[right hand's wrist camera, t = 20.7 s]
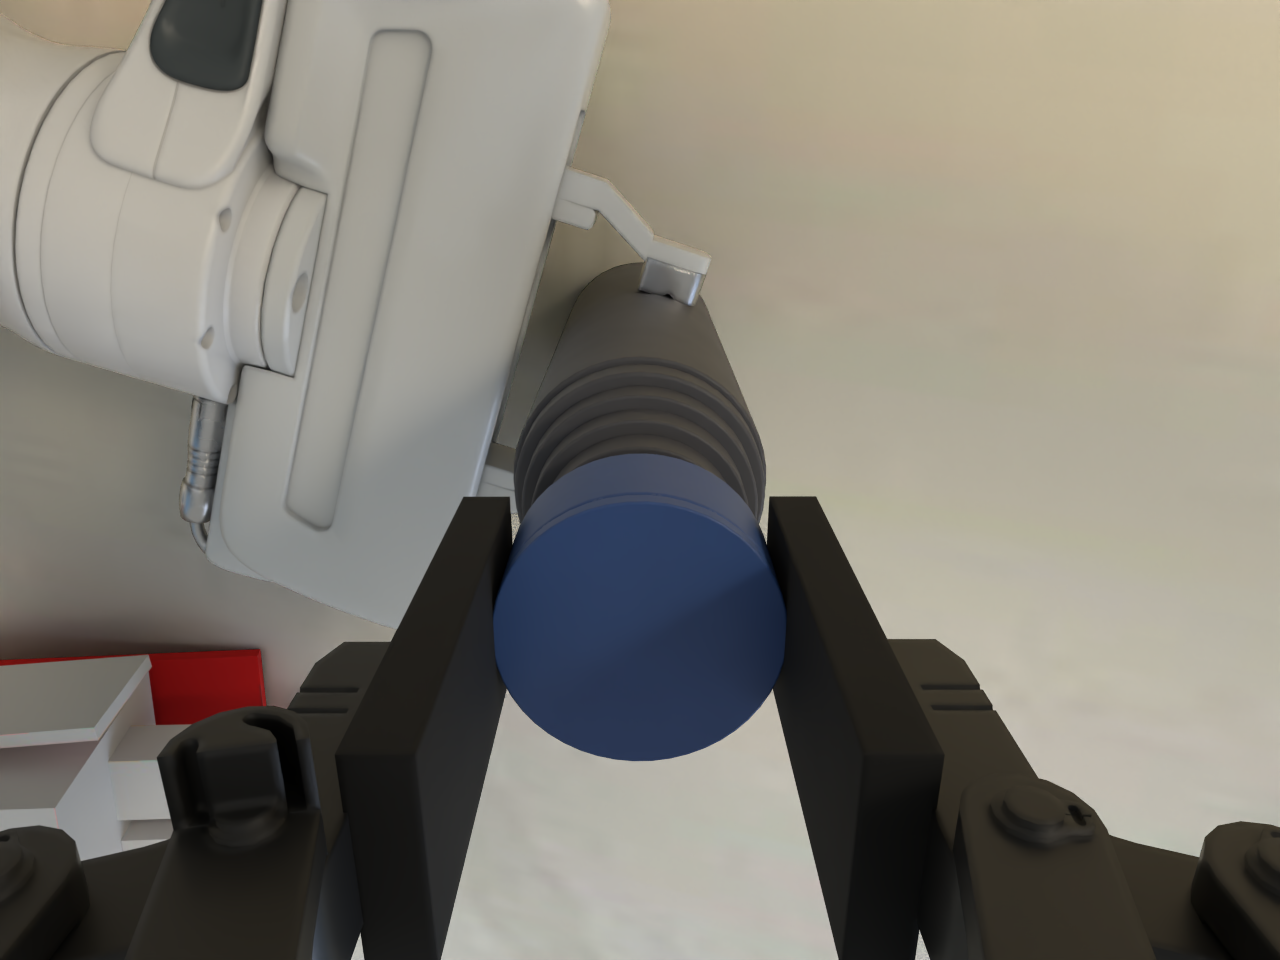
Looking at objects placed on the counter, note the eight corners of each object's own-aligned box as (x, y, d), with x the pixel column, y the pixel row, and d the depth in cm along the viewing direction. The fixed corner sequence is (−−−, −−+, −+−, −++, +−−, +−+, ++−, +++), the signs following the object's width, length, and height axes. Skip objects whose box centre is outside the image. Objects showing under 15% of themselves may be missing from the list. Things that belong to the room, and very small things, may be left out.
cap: (763, 441, 14) (784, 489, 12) (772, 674, 15) (792, 752, 14) (493, 462, 14) (469, 514, 12) (528, 692, 16) (512, 771, 14)
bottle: (654, 232, 32) (678, 373, 12) (739, 350, 33) (884, 646, 14) (538, 321, 33) (388, 583, 13) (625, 432, 34) (606, 814, 15)
